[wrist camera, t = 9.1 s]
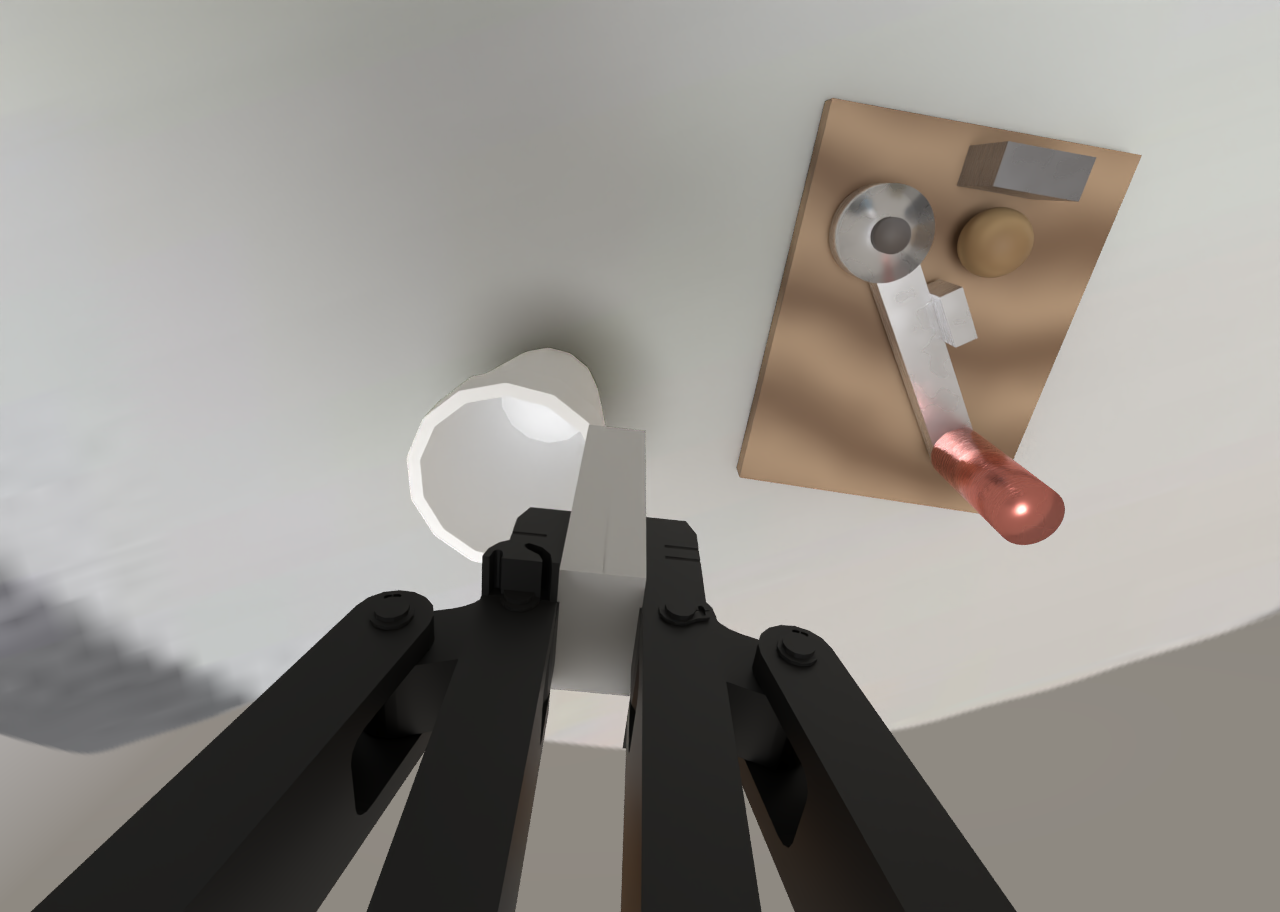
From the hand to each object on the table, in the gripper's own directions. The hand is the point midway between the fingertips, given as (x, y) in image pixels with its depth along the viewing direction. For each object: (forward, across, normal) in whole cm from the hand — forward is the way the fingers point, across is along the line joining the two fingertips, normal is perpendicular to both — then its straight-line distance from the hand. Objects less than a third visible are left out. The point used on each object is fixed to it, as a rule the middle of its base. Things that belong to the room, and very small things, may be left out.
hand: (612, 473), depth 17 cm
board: (+24, +17, 0) cm, 29 cm away
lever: (+22, +17, 0) cm, 28 cm away
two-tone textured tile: (+23, +19, +9) cm, 31 cm away
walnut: (+21, +19, +6) cm, 29 cm away
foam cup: (+24, -4, -7) cm, 25 cm away
